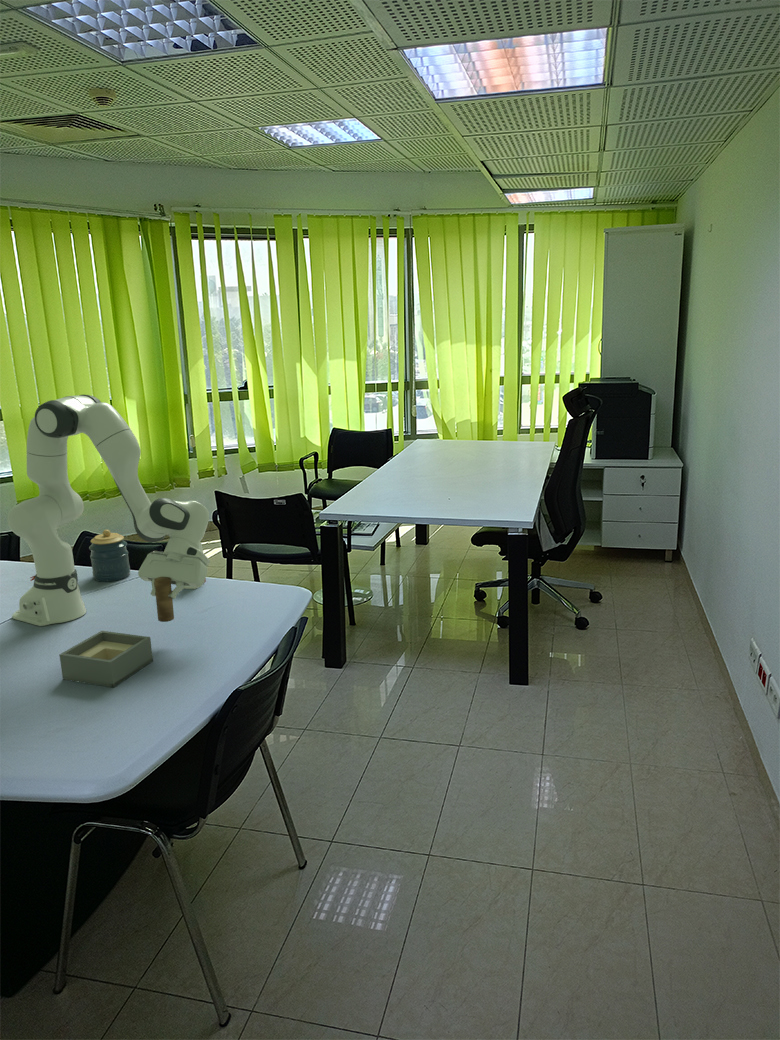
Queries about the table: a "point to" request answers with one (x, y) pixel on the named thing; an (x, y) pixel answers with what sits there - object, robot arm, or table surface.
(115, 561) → the canister
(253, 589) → the table surface
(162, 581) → the peg
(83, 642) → the bore box
